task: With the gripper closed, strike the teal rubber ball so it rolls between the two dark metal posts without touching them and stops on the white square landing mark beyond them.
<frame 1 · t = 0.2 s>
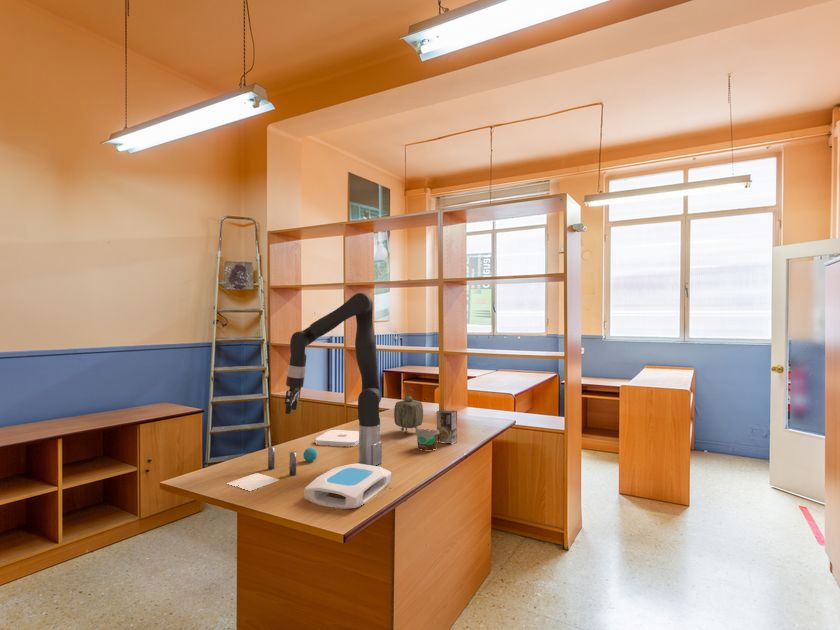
hand: (290, 411, 201), 22 cm above the table, tool pointing down, fingers open, 8 cm apart
step platform: (349, 493, 166), on the table
post 2: (292, 474, 184), on the table
food container: (425, 450, 219), on the table
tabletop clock: (407, 433, 251), on the table
post 1: (271, 468, 191), on the table
coffee box: (446, 442, 233), on the table
ball: (310, 454, 201), on the table
computer: (341, 441, 236), on the table
landing mark: (253, 482, 175), on the table
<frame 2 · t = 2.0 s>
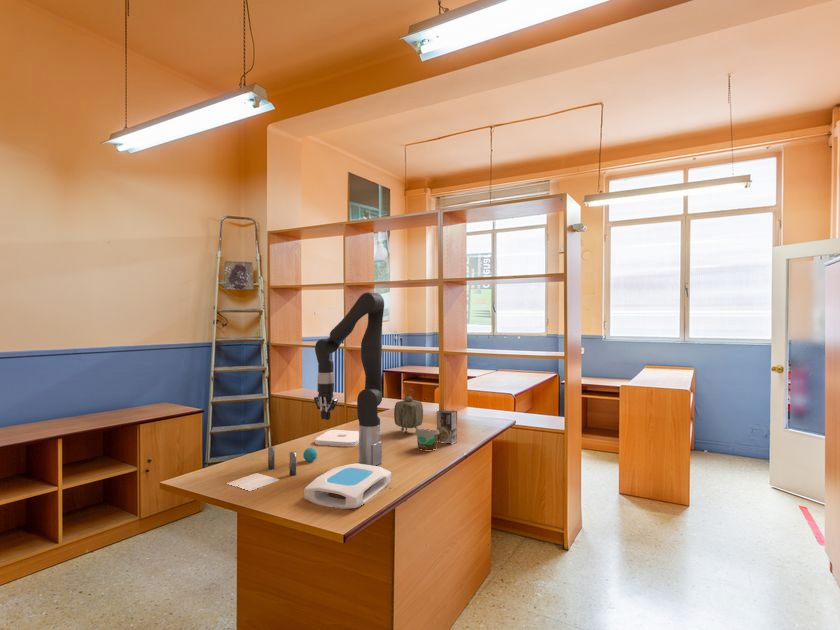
hand: (325, 419, 209), 17 cm above the table, tool pointing down, fingers closed
nothing on the table moved.
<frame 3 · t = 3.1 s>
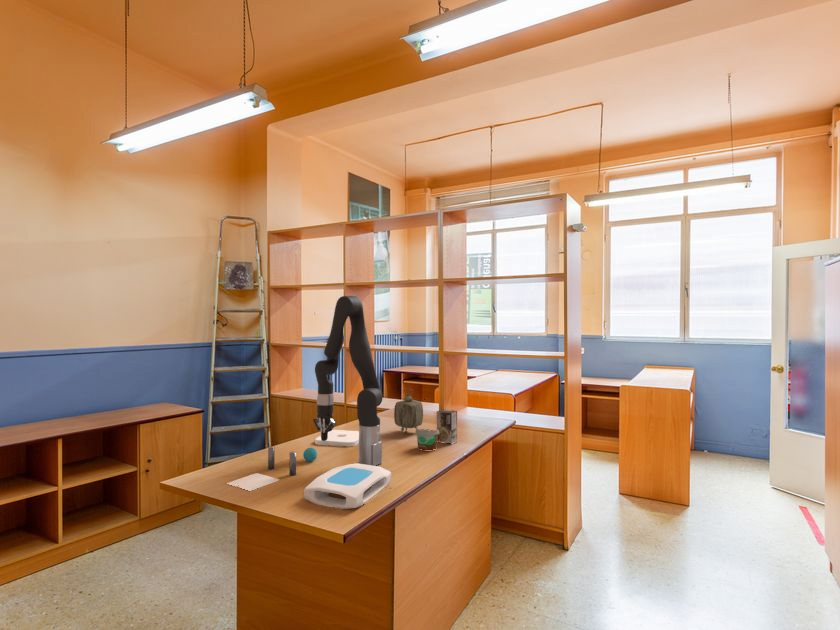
hand: (324, 440, 209), 7 cm above the table, tool pointing down, fingers closed
nothing on the table moved.
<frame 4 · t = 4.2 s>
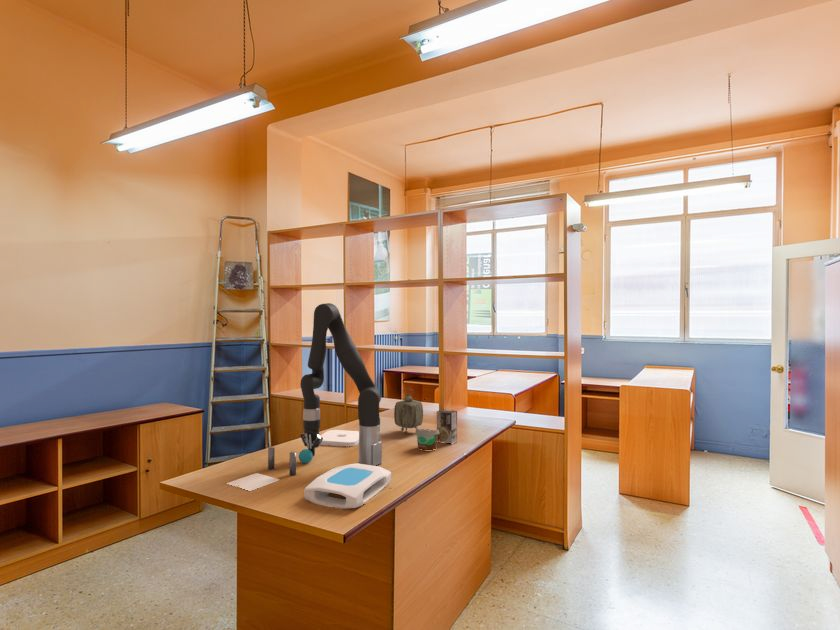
hand: (311, 456, 202), 2 cm above the table, tool pointing down, fingers closed
ball: (305, 456, 198), on the table
everything else where it was.
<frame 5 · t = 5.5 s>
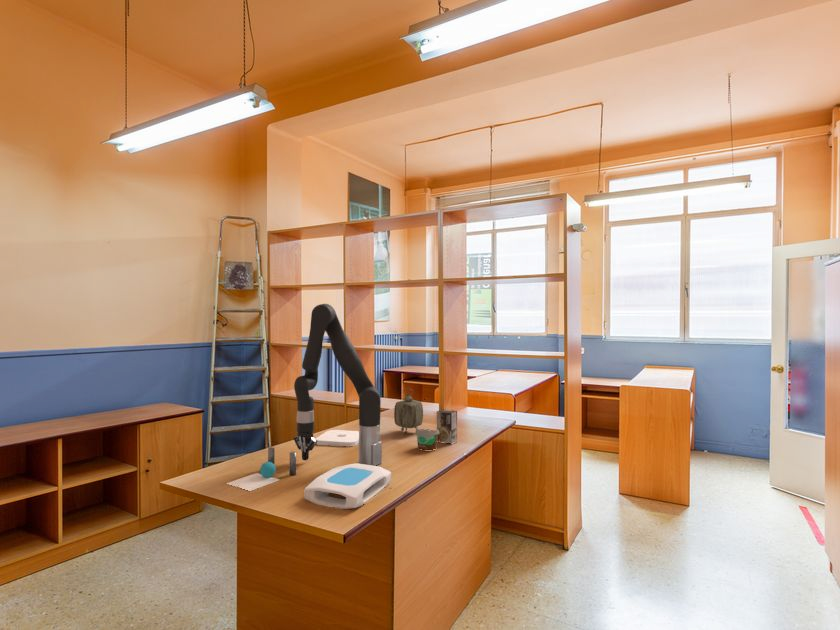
hand: (305, 459, 198), 2 cm above the table, tool pointing down, fingers closed
ball: (267, 469, 181), on the table
everything else where it was.
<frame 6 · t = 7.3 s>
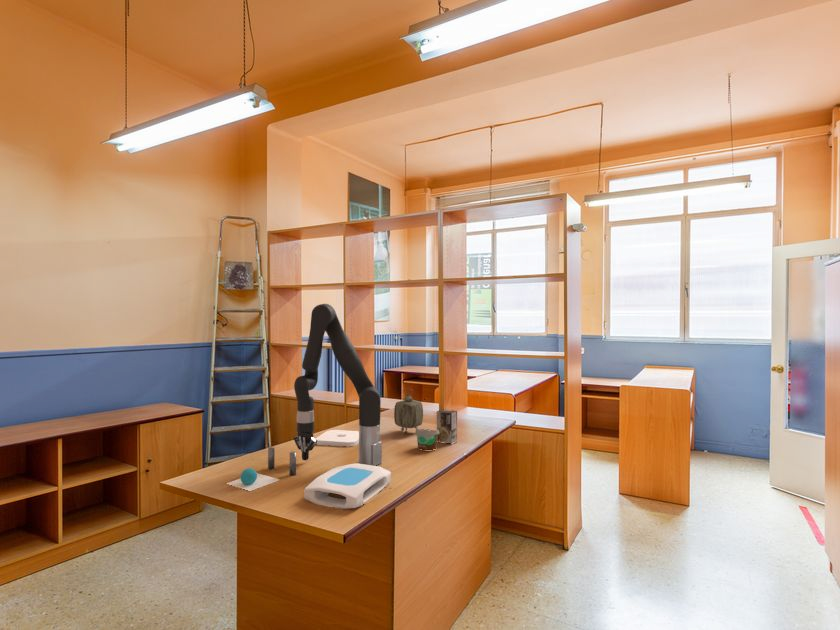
hand: (305, 459, 198), 2 cm above the table, tool pointing down, fingers closed
ball: (248, 476, 173), on the table
everything else where it was.
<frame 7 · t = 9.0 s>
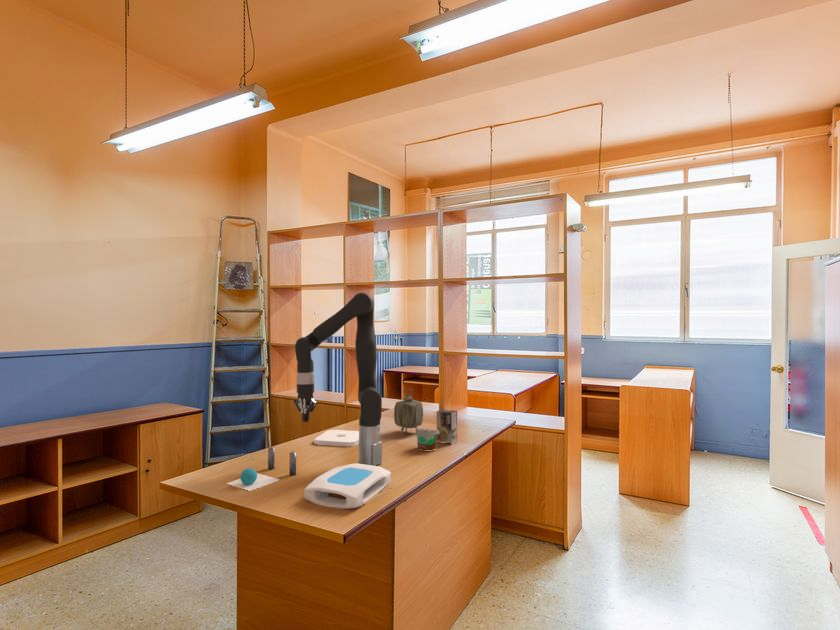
hand: (305, 421, 198), 18 cm above the table, tool pointing down, fingers closed
nothing on the table moved.
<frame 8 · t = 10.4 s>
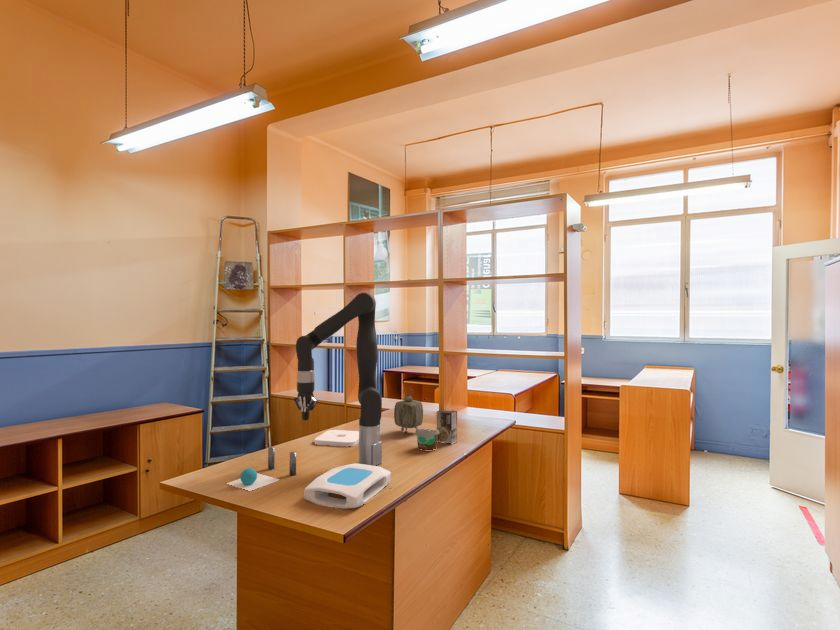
hand: (305, 420, 198), 19 cm above the table, tool pointing down, fingers closed
nothing on the table moved.
at the end: ball 2.5 cm from the landing mark (horizontally); ball never touched post 2; ball never touched post 1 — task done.
